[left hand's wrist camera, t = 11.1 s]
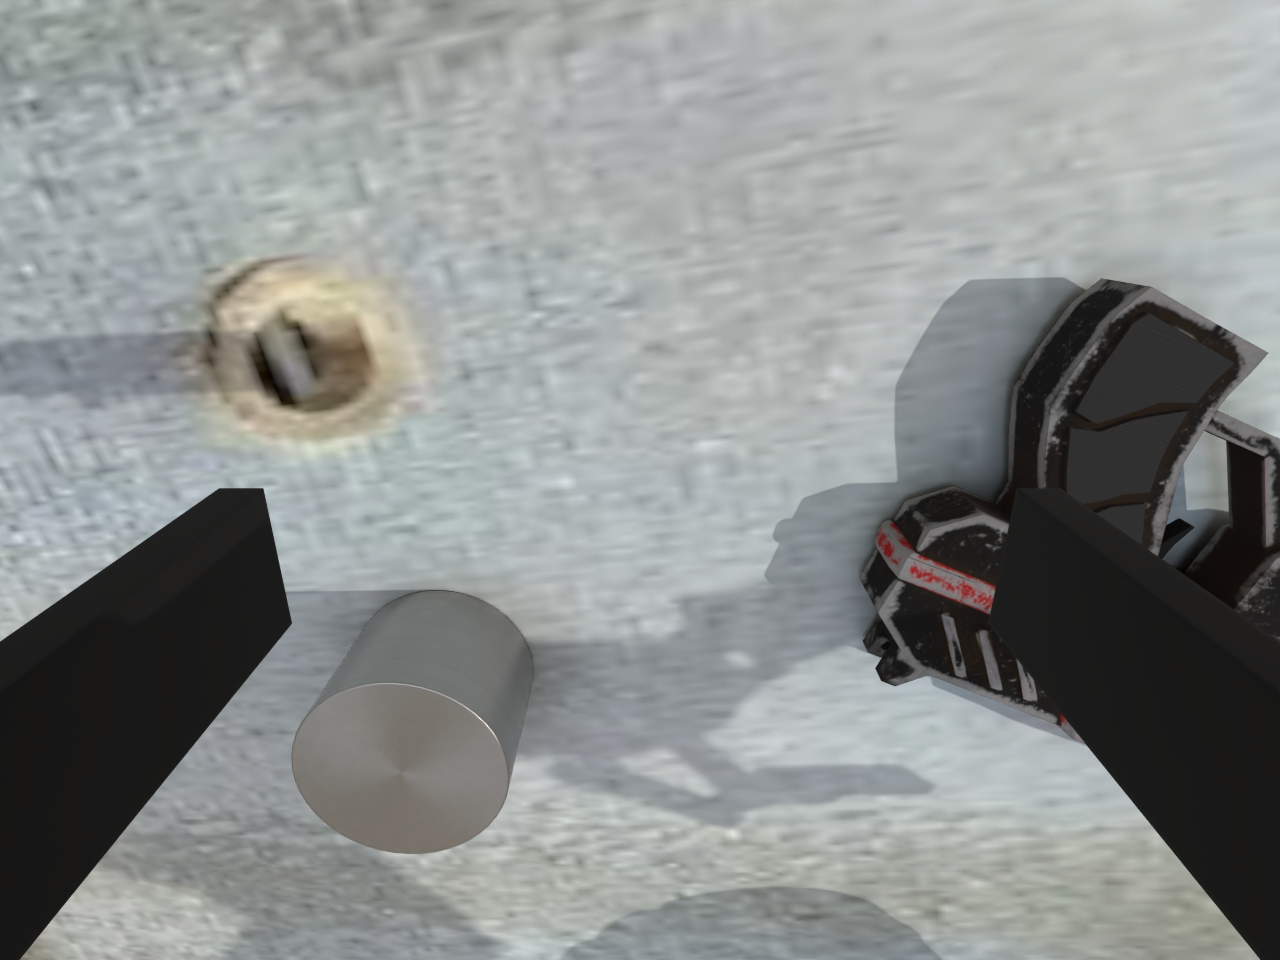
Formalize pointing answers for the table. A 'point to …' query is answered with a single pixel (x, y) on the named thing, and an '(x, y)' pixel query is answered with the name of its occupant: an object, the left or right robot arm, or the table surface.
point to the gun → (1084, 487)
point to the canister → (418, 725)
